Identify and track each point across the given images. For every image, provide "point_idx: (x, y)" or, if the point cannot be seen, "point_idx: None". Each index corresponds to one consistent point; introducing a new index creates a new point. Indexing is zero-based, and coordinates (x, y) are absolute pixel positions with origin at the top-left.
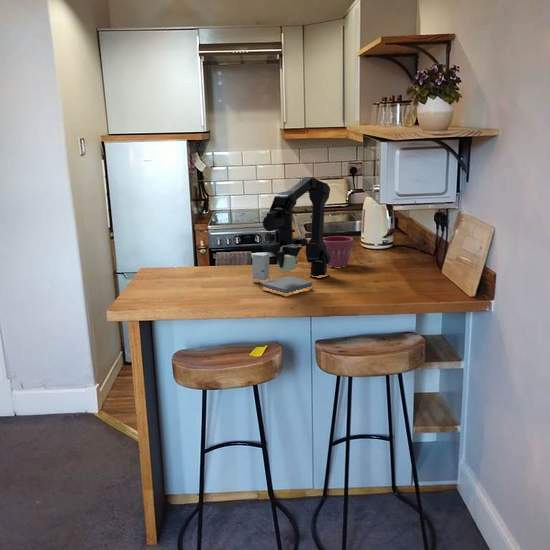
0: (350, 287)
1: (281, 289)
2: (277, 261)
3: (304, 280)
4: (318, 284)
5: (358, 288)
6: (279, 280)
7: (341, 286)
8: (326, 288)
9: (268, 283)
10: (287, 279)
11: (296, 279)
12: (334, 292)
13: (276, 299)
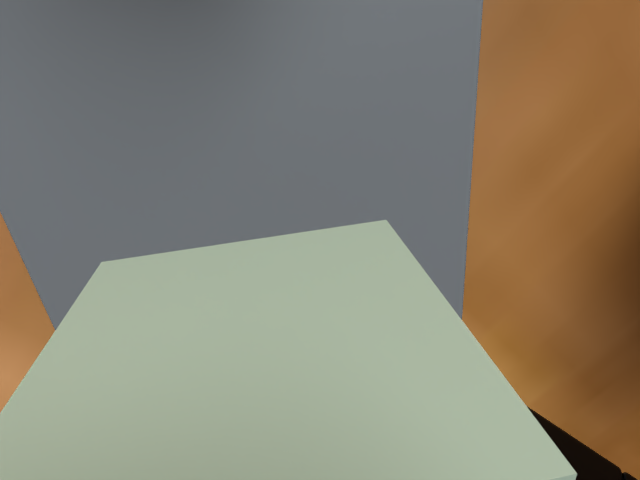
0: (619, 413)
1: None
2: (8, 409)
3: (457, 280)
4: (579, 232)
5: (621, 448)
6: (240, 77)
7: (613, 370)
8: (516, 354)
9: (12, 104)
10: (358, 110)
11: (433, 191)
12: None
13: (14, 382)
